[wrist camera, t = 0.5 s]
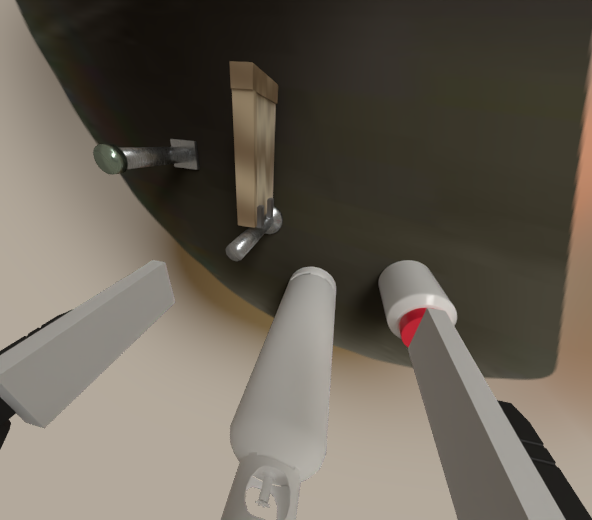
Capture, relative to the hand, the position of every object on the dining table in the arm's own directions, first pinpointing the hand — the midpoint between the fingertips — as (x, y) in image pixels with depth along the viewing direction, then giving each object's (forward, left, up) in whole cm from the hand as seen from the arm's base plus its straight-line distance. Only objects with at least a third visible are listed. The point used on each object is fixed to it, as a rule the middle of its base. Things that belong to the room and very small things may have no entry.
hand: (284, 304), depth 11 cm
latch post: (-4, -20, -23) cm, 31 cm away
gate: (-5, -8, -22) cm, 24 cm away
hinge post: (+4, -8, -23) cm, 24 cm away
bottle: (+15, 0, -23) cm, 27 cm away
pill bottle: (+11, +14, -23) cm, 29 cm away
